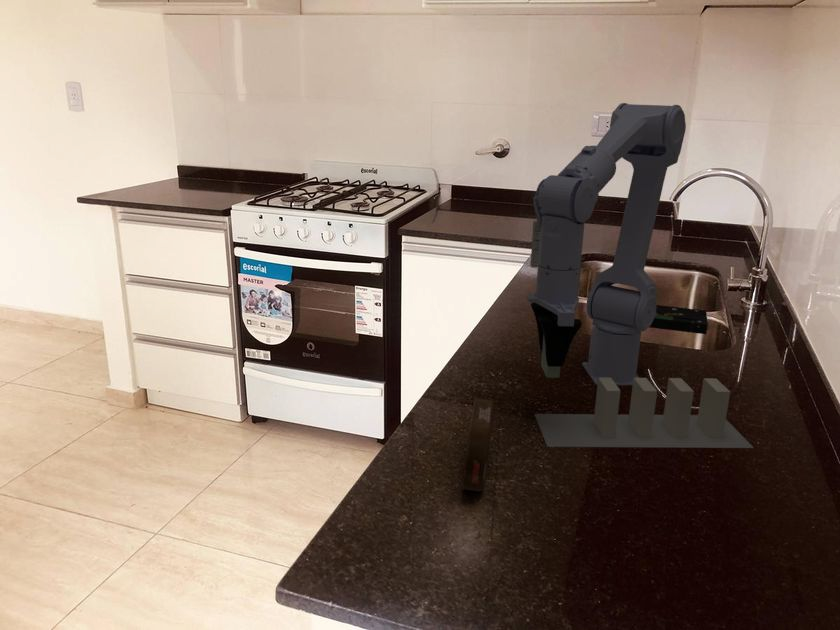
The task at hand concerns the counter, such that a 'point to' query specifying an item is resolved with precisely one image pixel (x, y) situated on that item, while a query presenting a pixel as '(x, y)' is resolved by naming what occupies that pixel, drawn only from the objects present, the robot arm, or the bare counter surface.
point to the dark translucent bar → (478, 445)
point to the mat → (630, 434)
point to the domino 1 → (548, 370)
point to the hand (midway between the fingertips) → (551, 358)
